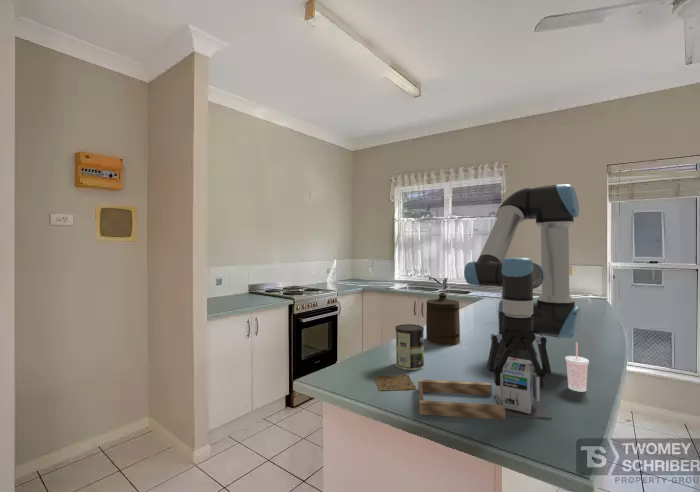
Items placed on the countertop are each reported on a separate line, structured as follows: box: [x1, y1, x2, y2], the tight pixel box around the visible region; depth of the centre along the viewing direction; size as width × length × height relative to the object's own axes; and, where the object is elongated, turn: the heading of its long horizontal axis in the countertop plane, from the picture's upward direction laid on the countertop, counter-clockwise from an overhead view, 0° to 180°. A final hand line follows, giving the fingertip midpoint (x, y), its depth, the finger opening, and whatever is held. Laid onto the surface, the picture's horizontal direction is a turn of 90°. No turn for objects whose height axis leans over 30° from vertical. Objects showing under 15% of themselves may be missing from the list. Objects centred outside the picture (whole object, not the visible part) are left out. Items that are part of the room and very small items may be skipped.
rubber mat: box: [493, 394, 552, 420], centre depth 95 cm, size 11×12×1 cm
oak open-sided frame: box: [417, 378, 506, 421], centre depth 98 cm, size 21×16×3 cm
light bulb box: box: [502, 357, 534, 414], centre depth 95 cm, size 11×7×11 cm, turn 149°
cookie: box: [373, 374, 418, 392], centre depth 112 cm, size 12×12×1 cm
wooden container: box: [425, 292, 461, 346], centre depth 160 cm, size 15×15×22 cm
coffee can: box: [395, 323, 425, 371], centre depth 128 cm, size 10×10×14 cm
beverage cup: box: [565, 341, 590, 393], centre depth 106 cm, size 6×6×14 cm
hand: (518, 398), depth 95 cm, fingers closed on light bulb box, 8 cm apart
